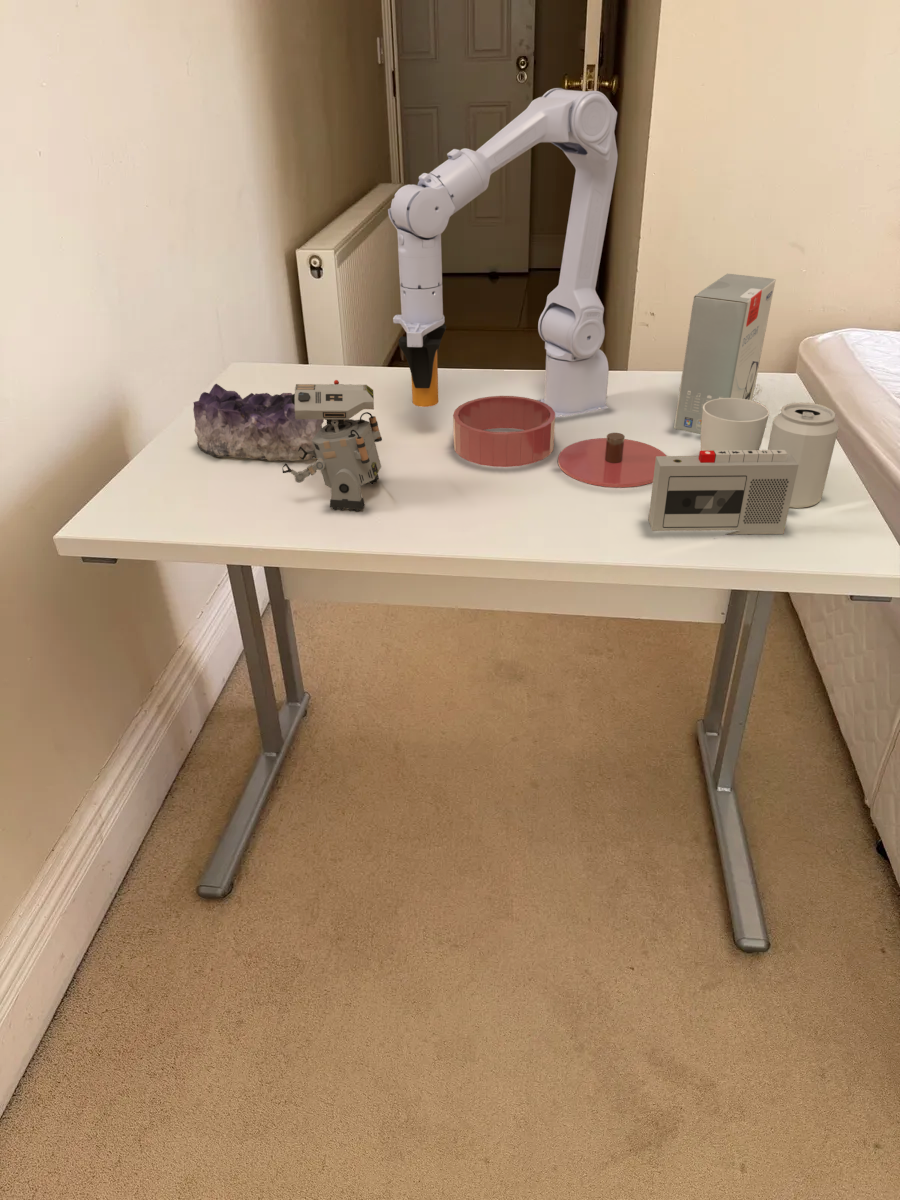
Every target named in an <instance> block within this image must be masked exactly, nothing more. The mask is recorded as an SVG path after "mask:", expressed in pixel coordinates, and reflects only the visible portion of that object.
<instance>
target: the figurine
mask: <svg viewBox="0 0 900 1200" xmlns="http://www.w3.org/2000/svg"><path fill="white" fill-rule="evenodd" d="M292 394H293V395H292V397H291V401H292V403H293V404H294V405H295V419H323V420H325V421H326V424H325V425H323V426H322V428H321V429H320V430H319V431H318V433H317V434H316V435H315V437H314V438H313V439H312V443H313V448H312V450H311V451H305V450H304V449H303V448H302V447H301V446H300V447H299V450H300V449H302V451H303V452H304V456H303V458H301V457H300V456H299V457H300V458H301V459H302V460H301V461H305V460H304V458H305V457H306V455H307V454H308V455H310V454H312V455H313V456H315V457H317V458H316V459H317V460H316V461H315V463H314V464H312V463H311V464H309V465H307V466H306V468H305V469H303V470H299V471H296V470H294V469H293V468H291V467H290V466H289V465H288V463H287V462H285V463H284V465H283V466H282V469H281V471H282V474H287V473H290V474H291V475H293V476H294V480H295V482H296V483H300V484H301V483H302V482H304V481H305V479H306V478H308V477H310V476H313V475H315V474H316V473H317V471H320V473H321V476H322V479H323V483H324V485H325V486H326V487H327V488H330V499H329V508H331V509H332V510H333V511H337V510H339V511H343V510H344V509H347V510H348V511H350V512H353V511H354V510H355V512H359V511H360V510H363V509H364V507H365V504H366V503H365V500H364V497H363V494H362V489H361V486H364V485H367V484H368V483H369V484H370V485H374V484H375V483H378V481H379V472H380V470H381V468H382V463H381V459H380V456H379V451H378V448H377V444H376V443H379V442H382V440H383V437H382V436H381V432H380V429H379V422H378V420H377V416H374V415H372V414H371V413H370V412H367V411H366V412H363V413H362V414H361V415H360V417H359V419H353V417H354V416H356V415H357V414H359V413H360V412H362V411H363V410H374V409H375V397H374V394H375V393H374V389H373V388H372V387H370V386H368V385H367V384H343V383H341V384H340V381H339V380H338V379H335V380H334V381H333V383H329V384H328V383H327V384H324V383H320V384H318V383H316V384H315V383H314V384H313V383H297V384H295V387H294V393H292ZM364 415H369V416H370V417H368V420H366V419H362V417H364ZM351 418H352V419H351ZM299 450H298V452H299ZM284 467H286V470H284Z"/></svg>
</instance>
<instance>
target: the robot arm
mask: <svg viewBox="0 0 900 1200" xmlns="http://www.w3.org/2000/svg"><path fill="white" fill-rule="evenodd" d="M617 118H618V111H617V110H616V108H615V107H614V106H613V105H612V102H610V100H609V98H608V97H607V96H606V95H605V94H604V93H603V92H601V91H598V90H588V91H585V90H572V89H564V88H562V87H553V88H551V89H549V90H547V91H546V92H545V93H544V94H543V95H541V96H539V97H537V98H535V99H533V100H532V101H531V102H530V103H529V104H528V105H527V107H526V109H524V110H523V111H522V112H521V113H520V114H518V115H517V116H516V117H515V118H514V119H512V120H511V121H510V122H509V123H508V124H506V125H505V126H504V127H503V128H502V129H500V130H499V131H498V132H496V134H494V135H493V136H492V137H491V138H489V140H487V141H486V142H485V143H483V145H481V146H480V147H479V148H477V149H476V150H473V149H471V148H466V147H465V148H461V149H457V148H453V149H452V150H450V151H449V152H447V153H446V157H447V158H448V159H446V160H445V161H444V162H443V163H441V164H439V165H438V166H437V167H435V168H434V169H433V170H431V171H430V172H427V173H426V172H423V173H421V174H420V175H419V176H418V181H417V184H405V185H403V186H401V187H400V188H399V189H398V190H397V191H396V192H395V194H394V195H393V196H394V197H393V198H392V199H391V204H390V207H389V208H387V214H388V218H389V220H390V223H391V224H392V226H394V228H395V229H396V232H397V252H398V253H397V255H398V270H399V271H398V272H399V273H398V275H399V276H398V277H399V290H400V291H399V292H400V293H399V294H400V312H401V314H395V315H394V316H393V318H392V323H393V324H397V325H399V324H400V325H401V327H402V328H403V330H404V331H405V333H406V336H404V335H403V336H399V339H398V346H399V348H400V350H401V351H402V353H403V355H404V357H405V359H406V361H407V364H408V366H409V371H410V376H411V375H412V379H413V383H414V386H415V388H430V384H431V380H432V372H433V363H434V358H435V354H436V351H437V359H438V356H439V351H440V346H441V342H442V339H443V336H444V334H445V332H446V329H447V325H446V323H445V315H444V303H443V302H444V300H443V298H444V297H443V262H442V261H443V260H442V258H443V257H442V255H443V254H442V234H443V232H445V230H446V228H447V227H448V224H449V221H450V217H452V216H453V215H454V214H456V213H457V212H459V211H460V210H461V209H463V208H464V207H465V206H467V205H468V204H470V202H472V201H473V200H474V199H476V198H477V197H479V196H480V195H481V194H483V193H484V192H485V191H487V189H488V188H489V183H490V178H491V176H492V174H493V173H495V172H497V171H498V170H500V169H501V168H503V167H504V166H506V165H507V164H508V163H509V164H510V162H512V161H514V160H515V159H516V158H518V157H520V156H521V155H522V154H524V153H526V152H527V151H528V150H530V149H532V148H533V147H534V146H537V145H538V144H540V143H551V144H552V145H554V146H555V147H557V148H559V149H560V150H562V152H563V153H564V154H565V156H566V157H567V159H568V160H569V161H570V163H571V165H573V167H574V169H575V174H574V180H573V187H572V193H571V201H570V207H569V213H568V221H567V226H566V231H565V232H566V233H565V239H564V246H563V252H562V257H561V258H562V259H561V266H560V271H559V272H560V273H559V278H558V285H557V286H556V287H555V288H553V290H552V291H550V292H549V294H547V297H546V302H545V305H544V309H543V311H542V312H541V313H540V316H539V318H538V324H537V332H538V334H539V337H540V338H541V340H542V341H543V342H544V350H545V372H544V373H545V375H544V397H543V398H541V399H537V400H538V401H540V402H543V403H545V404H547V405H549V406H550V407H551V408H552V409H553V410H554V412H555V418H563V417H568V416H574V415H579V414H584V413H590V412H595V411H600V410H606V409H609V406H608V405H607V398H608V387H609V386H608V384H609V372H610V371H609V370H610V368H609V362H608V358H607V355H606V354H605V353H604V351H603V350H602V349H600V348H601V347H602V345H603V343H604V340H605V335H606V329H605V325H604V312H605V307H604V305H603V303H602V301H601V299H600V296H599V295H598V293H597V291H596V287H597V281H598V276H599V269H600V265H601V264H600V263H601V258H602V253H603V247H604V241H605V236H606V229H607V225H608V224H607V223H608V217H609V213H610V205H611V200H612V194H613V189H614V183H615V177H616V171H617V166H618V158H619V153H618V148H617V142H616V141H617V140H616V135H615V130H616V124H617Z"/></svg>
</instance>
